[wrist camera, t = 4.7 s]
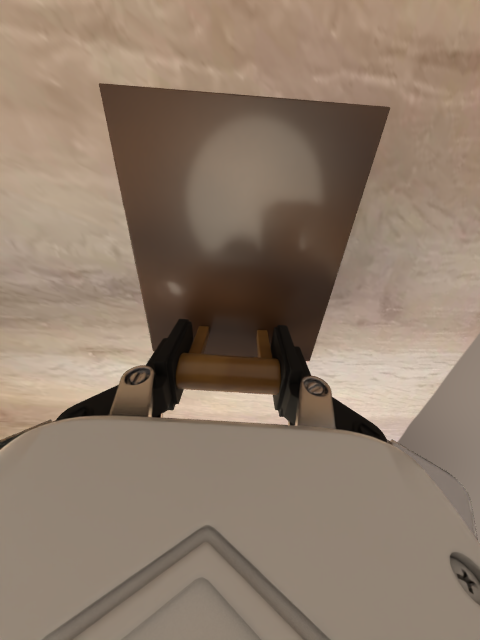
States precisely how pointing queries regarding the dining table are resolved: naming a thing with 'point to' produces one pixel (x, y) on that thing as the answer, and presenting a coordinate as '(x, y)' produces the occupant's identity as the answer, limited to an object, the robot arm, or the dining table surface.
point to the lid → (238, 218)
